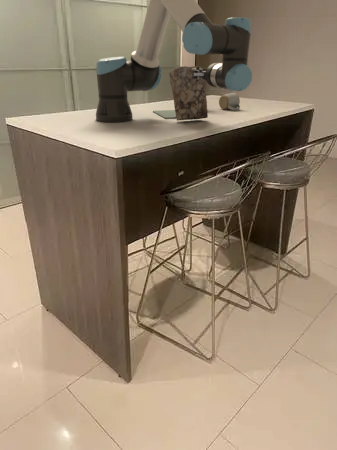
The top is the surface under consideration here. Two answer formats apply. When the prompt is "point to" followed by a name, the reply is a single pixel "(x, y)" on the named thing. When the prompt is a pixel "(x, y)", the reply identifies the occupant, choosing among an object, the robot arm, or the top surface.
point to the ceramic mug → (229, 101)
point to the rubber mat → (166, 114)
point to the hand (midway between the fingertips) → (193, 71)
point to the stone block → (188, 94)
